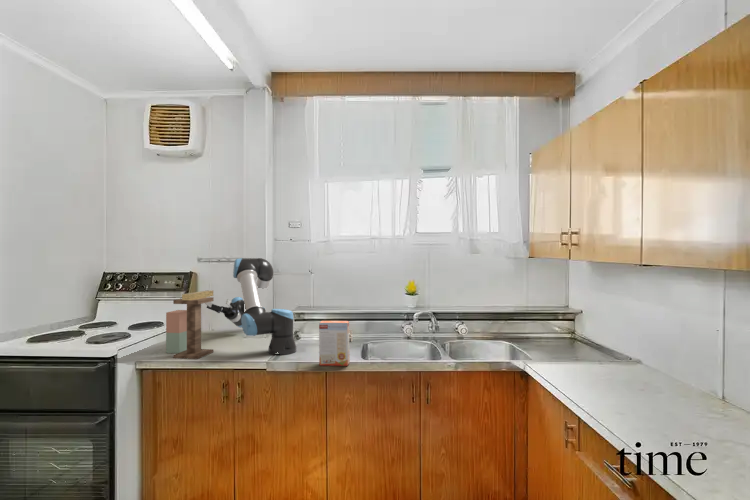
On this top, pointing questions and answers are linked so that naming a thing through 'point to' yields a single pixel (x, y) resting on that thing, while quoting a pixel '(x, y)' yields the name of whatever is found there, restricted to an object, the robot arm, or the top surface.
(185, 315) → the top block
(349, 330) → the architectural model
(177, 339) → the bottom block
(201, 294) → the brass bar
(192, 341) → the wooden stand
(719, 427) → the top surface
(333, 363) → the cracker box
